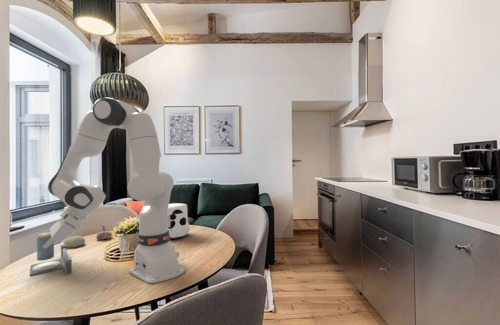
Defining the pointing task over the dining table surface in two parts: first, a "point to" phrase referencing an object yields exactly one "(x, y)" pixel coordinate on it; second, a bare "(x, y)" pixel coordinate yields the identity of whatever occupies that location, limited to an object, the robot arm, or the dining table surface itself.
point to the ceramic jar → (42, 252)
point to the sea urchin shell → (74, 241)
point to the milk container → (177, 220)
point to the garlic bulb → (104, 234)
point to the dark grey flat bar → (66, 260)
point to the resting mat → (45, 267)
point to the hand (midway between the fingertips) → (43, 245)
